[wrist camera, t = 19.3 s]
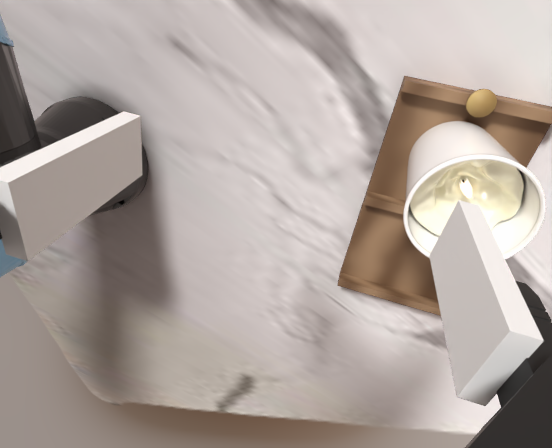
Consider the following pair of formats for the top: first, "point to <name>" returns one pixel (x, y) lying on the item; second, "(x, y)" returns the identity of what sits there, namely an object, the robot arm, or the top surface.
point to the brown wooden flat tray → (393, 174)
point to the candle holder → (470, 187)
